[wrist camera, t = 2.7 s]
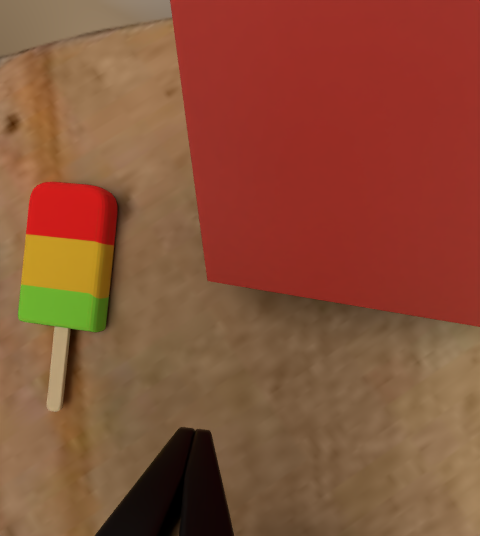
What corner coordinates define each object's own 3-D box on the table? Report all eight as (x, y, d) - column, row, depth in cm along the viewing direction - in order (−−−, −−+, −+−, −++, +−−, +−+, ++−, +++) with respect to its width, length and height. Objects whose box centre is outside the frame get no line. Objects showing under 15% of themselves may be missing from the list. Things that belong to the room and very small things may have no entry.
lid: (173, -80, 7) (158, -76, 6) (1191, -66, 5) (1297, -58, 4) (212, 267, 15) (207, 281, 14) (577, 326, 13) (587, 345, 12)
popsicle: (122, 191, 22) (108, 184, 20) (99, 412, 22) (83, 425, 21) (48, 185, 23) (27, 178, 21) (26, 399, 23) (4, 410, 21)
